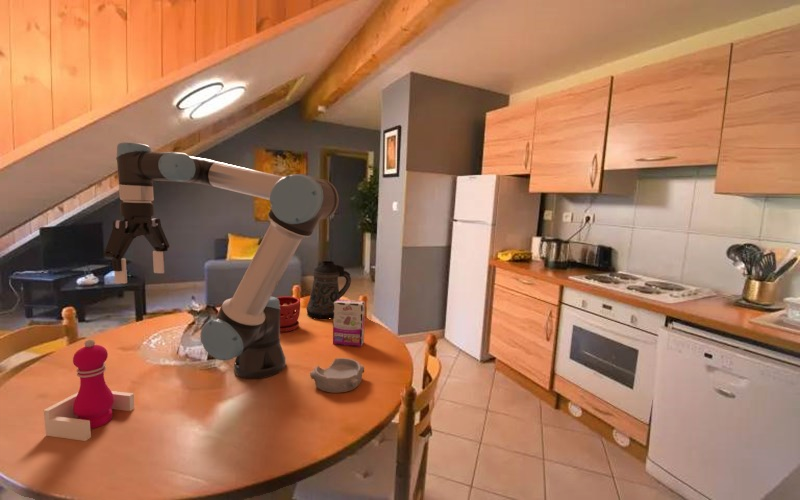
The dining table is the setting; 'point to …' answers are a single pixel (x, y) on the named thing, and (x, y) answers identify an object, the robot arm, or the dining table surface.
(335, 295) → the beer stein
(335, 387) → the dish
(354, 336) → the candy bar box
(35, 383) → the dining table surface
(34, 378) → the dining table surface
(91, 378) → the pepper mill
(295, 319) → the plant pot
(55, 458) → the dining table surface
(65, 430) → the bracket
